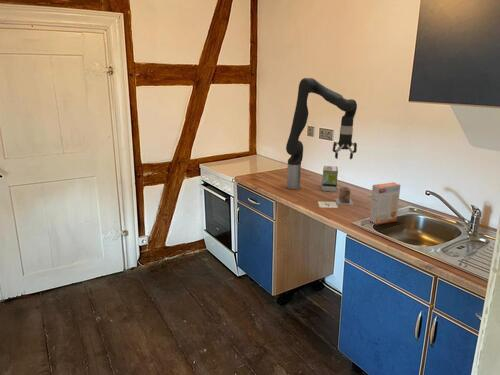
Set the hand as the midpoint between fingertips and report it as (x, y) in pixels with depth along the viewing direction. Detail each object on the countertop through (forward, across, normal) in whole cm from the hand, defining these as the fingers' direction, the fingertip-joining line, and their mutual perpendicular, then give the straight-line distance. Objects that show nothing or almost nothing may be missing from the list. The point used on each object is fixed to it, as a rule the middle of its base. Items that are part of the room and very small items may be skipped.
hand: (343, 158), depth 234 cm
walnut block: (+26, +2, -6) cm, 26 cm away
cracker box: (+26, +17, -38) cm, 49 cm away
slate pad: (+26, +2, -6) cm, 27 cm away
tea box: (+27, -4, +23) cm, 36 cm away
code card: (+26, -9, -13) cm, 30 cm away
